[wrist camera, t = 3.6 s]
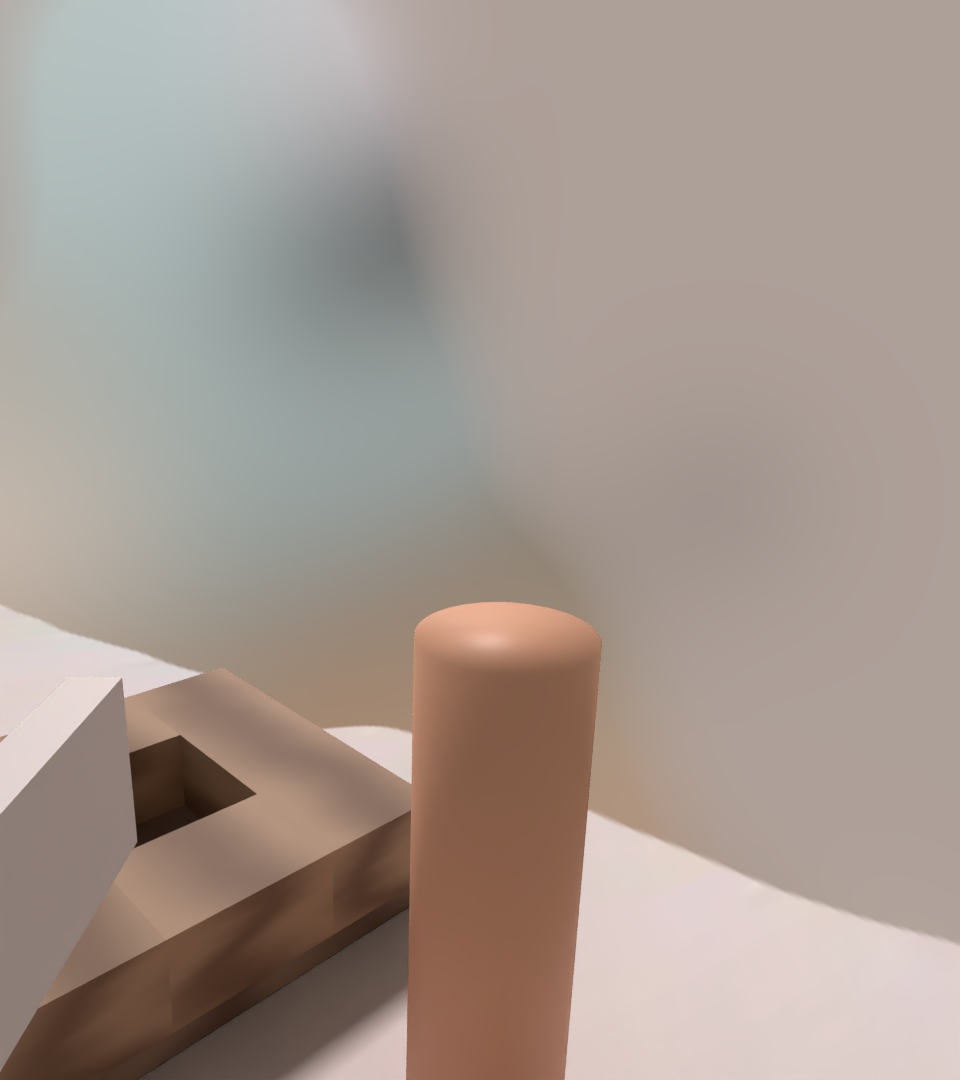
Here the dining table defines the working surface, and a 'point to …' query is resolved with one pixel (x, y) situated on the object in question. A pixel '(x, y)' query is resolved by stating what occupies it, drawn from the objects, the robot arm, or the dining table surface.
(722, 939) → the dining table surface
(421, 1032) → the peg
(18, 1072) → the socket block
